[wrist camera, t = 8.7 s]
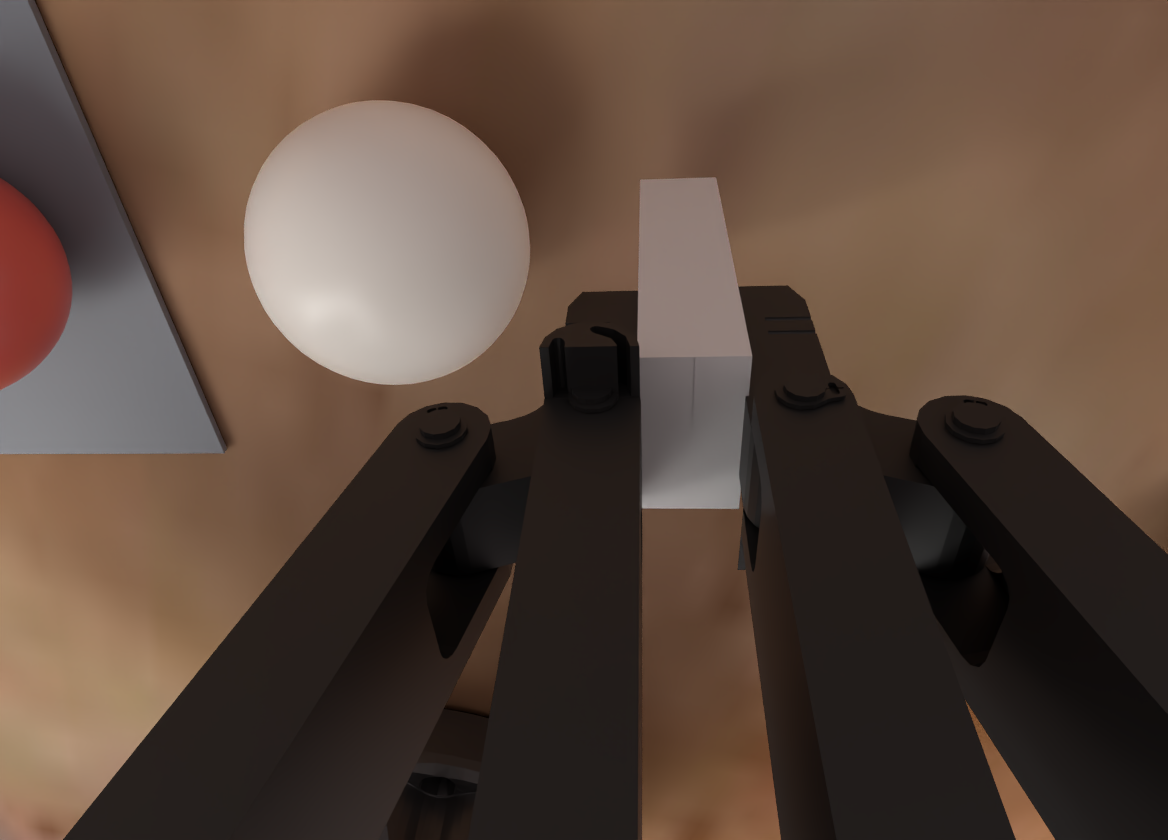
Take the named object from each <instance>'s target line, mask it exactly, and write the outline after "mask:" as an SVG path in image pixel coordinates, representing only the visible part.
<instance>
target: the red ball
mask: <svg viewBox="0 0 1168 840" xmlns="http://www.w3.org/2000/svg"><path fill="white" fill-rule="evenodd" d="M71 303H72V279H71V272H70V267H69V264H68V260H67V257H66V253H65V251H64V249H63V246H62V244H61V241H60V240H59V238H58V236H57V234H56V233H55V231H54V229H53V228H52V226H51V225H50V224H49V222H48V221H47V220H46V218H45V217H44V216H43V214H42V213H41V212H40V211H39V210H38V209H37V207H36V206H35V205H34V204H33V203H32V202H31V201H30V200H29V199H28V198H27V197H25V196H24V195H23V194H22V193H21V192H19V191H18V190H17V189H16V188H14V187H13V186H12V185H10V184H9V183H8V182H6V181H5V180H3V179H1V178H0V390H2V389H4V388H5V387H7V386H9V385H11V384H13V383H15V382H17V381H18V380H20V379H21V378H23V377H24V376H26V375H27V374H29V373H30V372H31V371H32V370H34V369H35V368H36V367H37V366H38V365H39V364H40V363H41V362H42V361H43V360H44V359H45V358H46V357H47V356H48V355H49V353H50V352H51V351H52V349H53V348H54V346H55V345H56V343H57V342H58V341H59V339H60V337H61V335H62V333H63V331H64V329H65V326H66V323H67V321H68V318H69V314H70V309H71Z"/></svg>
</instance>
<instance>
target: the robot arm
mask: <svg viewBox="0 0 1168 840" xmlns="http://www.w3.org/2000/svg"><path fill="white" fill-rule="evenodd" d="M539 349H540V359H541V368H542V377H543V387H544V396H545V399H544V405H543V406H541V407H540V408H539V409H537V410H536V411H534V412H532V413H529V414H527V415H525V416H522V417H519V418H516V419H512V420H508V421H504V422H499V423H495V424H490V422H489V419H488V416H487V415H486V414H485V413H484V412H482V411H481V410H480V409H479V408H477V407H474V406H471V405H467V404H464V403H440V404H435V405H431V406H426V407H424V408H421V409H419V410H417V411H415V412H413V413H411V414H409V415H408V416H407V417H405V418H404V419H403V420H402V421H401V422H400V423H399V424H397V426H396V427H395V428H394V429H393V430H392V432H391V433H390V434H389V435H388V437H387V438H386V439H385V440H384V442H383V443H382V444H381V445H380V447H379V448H378V449H377V450H376V452H375V453H374V454H373V455H372V457H371V458H370V459H369V460H368V462H367V463H366V464H365V465H364V467H363V468H362V469H361V470H360V471H359V473H358V474H357V475H356V476H355V478H354V479H353V480H352V481H351V483H350V484H349V485H348V486H347V488H346V489H345V490H344V491H343V493H342V494H341V495H340V496H339V498H338V499H337V500H336V501H335V503H334V504H333V505H332V506H331V508H330V509H329V510H328V511H327V512H326V514H325V515H324V516H323V517H322V519H321V520H320V521H319V522H318V524H317V525H316V526H315V527H314V529H313V530H312V531H311V532H310V534H309V535H308V536H307V537H306V539H305V540H304V541H303V542H302V544H301V545H300V546H299V547H298V548H297V550H296V551H295V552H294V553H293V555H292V556H291V557H290V558H289V560H288V561H287V562H286V563H285V565H284V566H283V567H282V568H281V570H280V571H279V572H278V573H277V575H276V576H275V577H274V578H273V580H272V581H271V582H270V583H269V585H268V586H267V587H266V588H265V589H264V591H263V592H262V593H261V594H260V596H259V597H258V598H257V599H256V601H255V602H254V603H253V604H252V606H251V607H250V608H249V609H248V611H247V612H246V613H245V614H244V616H243V617H242V618H241V619H240V621H239V622H238V623H237V624H236V625H235V627H234V628H233V629H232V630H231V632H230V633H229V634H228V635H227V637H226V638H225V639H224V640H223V642H222V643H221V644H220V645H219V647H218V648H217V649H216V650H215V652H214V653H213V654H212V655H211V657H210V658H209V659H208V660H207V662H206V663H205V664H204V665H203V666H202V668H201V669H200V670H199V671H198V673H197V674H196V675H195V676H194V678H193V679H192V680H191V681H190V683H189V684H188V685H187V686H186V688H185V689H184V690H183V691H182V693H181V694H180V695H179V696H178V698H177V699H176V700H175V701H174V702H173V704H172V705H171V706H170V707H169V709H168V710H167V711H166V712H165V714H164V715H163V716H162V717H161V719H160V720H159V721H158V722H157V724H156V725H155V726H154V727H153V729H152V730H151V731H150V732H149V734H148V735H147V736H146V737H145V739H144V740H143V741H142V742H141V743H140V745H139V746H138V747H137V748H136V750H135V751H134V752H133V753H132V755H131V756H130V757H129V758H128V760H127V761H126V762H125V763H124V765H123V766H122V767H121V768H120V770H119V771H118V772H117V773H116V775H115V776H114V777H113V778H112V779H111V781H110V782H109V783H108V784H107V786H106V787H105V788H104V789H103V791H102V792H101V793H100V794H99V796H98V797H97V798H96V799H95V801H94V802H93V803H92V804H91V806H90V807H89V808H88V809H87V811H86V812H85V813H84V814H83V816H82V817H81V818H80V819H79V820H78V822H77V823H76V824H75V825H74V827H73V828H72V829H71V830H70V832H69V833H68V834H67V835H66V837H65V838H64V839H63V840H642V508H653V509H739V502H740V491H741V493H742V500H743V518H742V529H741V540H740V551H739V562H738V570H745V569H746V575H747V583H748V590H749V598H750V606H751V613H752V621H753V628H754V636H755V644H756V651H757V659H758V666H759V674H760V682H761V689H762V697H763V705H764V712H765V720H766V727H767V735H768V743H769V750H770V758H771V765H772V773H773V781H774V788H775V796H776V804H777V811H778V819H779V826H780V834H781V840H1016V839H1015V836H1014V834H1013V831H1012V828H1011V825H1010V823H1009V820H1008V817H1007V814H1006V812H1005V809H1004V806H1003V803H1002V801H1001V798H1000V795H999V792H998V790H997V787H996V784H995V781H994V779H993V776H992V773H991V770H990V768H989V765H988V762H987V759H986V757H985V754H984V751H983V748H982V746H981V743H980V740H979V737H978V735H977V732H976V729H975V726H974V724H973V721H972V718H971V715H970V713H969V710H968V707H967V704H966V702H967V703H968V705H969V706H970V708H971V709H972V711H973V712H974V714H975V716H976V717H977V719H978V720H979V722H980V723H981V725H982V726H983V728H984V729H985V731H986V733H987V734H988V736H989V737H990V739H991V740H992V742H993V743H994V745H995V747H996V748H997V750H998V751H999V753H1000V754H1001V756H1002V757H1003V759H1004V760H1005V762H1006V764H1007V765H1008V767H1009V768H1010V770H1011V771H1012V773H1013V774H1014V776H1015V778H1016V779H1017V781H1018V782H1019V784H1020V785H1021V787H1022V788H1023V790H1024V791H1025V793H1026V795H1027V796H1028V798H1029V799H1030V801H1031V802H1032V804H1033V805H1034V807H1035V809H1036V810H1037V812H1038V813H1039V815H1040V816H1041V818H1042V819H1043V821H1044V822H1045V824H1046V826H1047V827H1048V829H1049V830H1050V832H1051V833H1052V835H1053V836H1054V838H1055V840H1168V554H1167V553H1166V552H1164V551H1163V550H1162V549H1161V548H1160V547H1159V546H1158V545H1157V544H1156V543H1155V542H1154V541H1153V540H1152V539H1151V538H1150V537H1149V536H1147V535H1146V534H1145V533H1144V532H1143V531H1142V530H1141V529H1140V528H1139V527H1138V526H1137V525H1136V524H1135V523H1134V522H1133V521H1131V520H1130V519H1129V518H1128V517H1127V516H1126V515H1125V514H1124V513H1123V512H1122V511H1121V510H1120V509H1119V508H1118V507H1117V506H1116V505H1114V504H1113V503H1112V502H1111V501H1110V500H1109V499H1108V498H1107V497H1106V496H1105V495H1104V494H1103V493H1102V492H1101V491H1100V490H1098V489H1097V488H1096V487H1095V486H1094V485H1093V484H1092V483H1091V482H1090V481H1089V480H1088V479H1087V478H1086V477H1085V476H1084V475H1083V474H1081V473H1080V472H1079V471H1078V470H1077V469H1076V468H1075V467H1074V466H1073V465H1072V464H1071V463H1070V462H1069V461H1068V460H1067V459H1066V458H1064V457H1063V456H1062V455H1061V454H1060V453H1059V452H1058V451H1057V450H1056V449H1055V448H1054V447H1053V446H1052V445H1051V444H1050V443H1048V442H1047V441H1046V440H1045V439H1044V438H1043V437H1042V436H1041V435H1040V434H1039V433H1038V432H1037V431H1036V430H1035V429H1034V428H1033V427H1031V426H1030V425H1029V424H1028V423H1027V422H1026V421H1025V420H1024V419H1023V418H1022V417H1020V416H1019V415H1017V414H1016V413H1014V412H1013V411H1012V410H1010V409H1009V408H1007V407H1005V406H1003V405H1000V404H997V403H995V402H992V401H990V400H987V399H983V398H978V397H977V398H976V397H972V396H944V397H941V398H938V399H934V400H931V401H929V402H928V403H926V404H925V405H924V406H923V407H922V408H921V409H920V410H919V413H918V417H917V421H915V420H910V419H905V418H900V417H894V416H889V415H884V414H881V413H877V412H873V411H870V410H867V409H865V408H862V407H860V406H858V405H857V402H856V399H855V396H854V394H853V393H852V391H851V390H850V389H849V387H848V386H847V385H846V384H845V383H844V382H842V381H840V380H839V379H837V378H836V377H834V376H833V375H830V372H829V369H828V366H827V363H826V360H825V357H824V354H823V351H822V348H821V345H820V342H819V339H818V337H817V334H815V328H814V325H813V322H812V320H811V316H810V313H809V310H808V307H807V304H806V301H805V299H803V298H802V297H801V296H800V295H798V294H797V293H796V292H795V291H794V290H792V289H791V288H790V287H789V286H746V287H738V283H737V278H736V273H735V268H734V263H733V258H732V253H731V248H730V243H729V238H728V234H727V229H726V224H725V219H724V214H723V209H722V204H721V199H720V194H719V189H718V184H717V179H716V177H707V178H677V179H646V180H640V213H639V271H638V291H607V292H582V293H581V294H580V295H579V296H578V297H577V298H576V299H575V300H574V301H573V302H572V303H571V304H570V305H569V307H568V312H567V318H566V326H565V327H562V328H559V329H556V330H555V331H554V332H552V333H551V334H549V335H548V336H546V337H545V338H544V340H543V342H542V344H541V345H540V347H539ZM513 563H516V566H515V572H514V578H513V583H512V589H511V595H510V601H509V606H508V612H507V618H506V624H505V629H504V635H503V641H502V647H501V652H500V658H499V664H498V670H497V675H496V681H495V687H494V693H493V698H492V704H491V710H490V716H489V718H485V717H481V716H477V715H473V714H468V713H464V712H459V711H453V710H447V709H444V707H445V705H446V703H447V701H448V699H449V697H450V695H451V693H452V691H453V689H454V687H455V685H456V683H457V681H458V679H459V677H460V675H461V673H462V671H463V669H464V667H465V665H466V663H467V661H468V659H469V657H470V655H471V653H472V651H473V649H474V647H475V645H476V643H477V641H478V639H479V637H480V635H481V633H482V631H483V629H484V627H485V625H486V623H487V621H488V619H489V617H490V615H491V613H492V611H493V609H494V607H495V605H496V603H497V601H498V599H499V597H500V595H501V593H502V591H503V589H504V587H505V585H506V583H507V581H508V579H509V577H510V574H511V569H512V565H513ZM964 698H965V699H964ZM965 700H966V702H965Z"/></svg>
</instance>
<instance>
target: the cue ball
mask: <svg viewBox="0 0 1168 840" xmlns="http://www.w3.org/2000/svg"><path fill="white" fill-rule="evenodd" d="M244 249H245V256H246V262H247V268H248V271H249V275H250V278H251V281H252V284H253V287H254V289H255V292H256V294H257V296H258V298H259V300H260V302H261V304H262V306H263V308H264V310H265V311H266V313H267V314H268V316H269V317H270V319H271V320H272V322H273V323H274V325H275V326H276V327H277V328H278V329H279V330H280V331H281V333H282V334H283V335H284V336H285V337H286V338H287V339H288V340H289V341H290V342H291V343H292V344H293V345H294V346H295V347H296V348H297V349H299V350H300V351H301V352H302V353H303V354H305V355H306V356H308V357H309V358H310V359H312V360H313V361H315V362H316V363H318V364H320V365H322V366H324V367H326V368H328V369H330V370H331V371H334V372H336V373H339V374H341V375H344V376H346V377H349V378H352V379H356V380H360V381H363V382H368V383H375V384H382V385H404V384H415V383H420V382H425V381H430V380H433V379H436V378H440V377H443V376H445V375H448V374H450V373H452V372H454V371H457V370H459V369H460V368H462V367H464V366H466V365H467V364H469V363H471V362H472V361H473V360H475V359H476V358H477V357H479V356H480V355H481V354H483V353H484V352H485V351H486V350H487V349H488V348H489V347H490V346H491V345H492V344H493V343H494V342H495V341H496V340H497V338H498V337H499V336H500V335H501V334H502V332H503V331H504V330H505V329H506V327H507V326H508V324H509V322H510V321H511V319H512V318H513V316H514V314H515V312H516V310H517V308H518V306H519V304H520V301H521V298H522V295H523V292H524V289H525V286H526V282H527V277H528V271H529V266H530V239H529V228H528V222H527V218H526V214H525V209H524V206H523V204H522V201H521V198H520V196H519V193H518V191H517V189H516V187H515V185H514V183H513V181H512V179H511V177H510V175H509V174H508V172H507V170H506V169H505V167H504V166H503V165H502V163H501V162H500V160H499V159H498V158H497V156H496V155H495V154H494V153H493V152H492V151H491V150H490V149H489V148H488V147H487V146H486V145H485V144H484V143H483V142H482V141H481V140H480V139H479V138H478V137H477V136H476V135H474V134H473V133H472V132H471V131H469V130H468V129H467V128H466V127H464V126H463V125H461V124H459V123H458V122H456V121H454V120H453V119H451V118H449V117H447V116H445V115H443V114H441V113H438V112H436V111H434V110H432V109H428V108H425V107H422V106H418V105H415V104H411V103H404V102H398V101H391V100H369V101H360V102H353V103H349V104H345V105H341V106H337V107H334V108H332V109H329V110H327V111H324V112H322V113H320V114H317V115H316V116H314V117H312V118H311V119H309V120H307V121H305V122H304V123H302V124H300V125H299V126H298V127H297V128H295V129H294V130H293V131H292V132H290V133H289V134H288V135H287V136H285V137H284V138H283V140H282V141H281V142H280V143H279V144H278V145H277V146H276V147H275V148H274V149H273V151H272V152H271V153H270V155H269V156H268V158H267V159H266V161H265V162H264V164H263V165H262V167H261V169H260V171H259V173H258V176H257V178H256V180H255V182H254V184H253V187H252V189H251V193H250V196H249V199H248V203H247V206H246V213H245V221H244Z"/></svg>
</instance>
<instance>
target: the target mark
mask: <svg viewBox="0 0 1168 840" xmlns="http://www.w3.org/2000/svg"><path fill="white" fill-rule="evenodd" d="M0 178H1V179H3V180H5V181H6V182H8V183H9V184H10V185H12V186H13V187H14V188H16V189H17V190H18V191H19V192H21V193H22V194H23V195H24V196H25V197H27V198H28V199H29V200H30V201H31V202H32V203H33V204H34V205H35V206H36V207H37V209H38V210H39V211H40V212H41V213H42V214H43V216H44V217H45V218H46V220H47V221H48V222H49V224H50V225H51V226H52V228H53V229H54V231H55V233H56V234H57V236H58V238H59V240H60V241H61V244H62V246H63V249H64V251H65V253H66V257H67V260H68V264H69V267H70V272H71V279H72V303H71V309H70V314H69V318H68V321H67V323H66V326H65V329H64V331H63V333H62V335H61V337H60V339H59V341H58V342H57V343H56V345H55V346H54V348H53V349H52V351H51V352H50V353H49V355H48V356H47V357H46V358H45V359H44V360H43V361H42V362H41V363H40V364H39V365H38V366H37V367H36V368H35V369H34V370H32V371H31V372H30V373H29V374H27V375H26V376H24V377H23V378H21V379H20V380H18V381H17V382H15V383H13V384H11V385H9V386H7V387H5V388H4V389H2V390H0V454H174V453H225V451H226V450H227V447H226V445H225V443H224V440H223V438H222V436H221V433H220V431H219V429H218V427H217V424H216V422H215V420H214V417H213V415H212V413H211V410H210V408H209V406H208V403H207V401H206V399H205V396H204V394H203V392H202V389H201V387H200V385H199V382H198V380H197V378H196V375H195V373H194V371H193V368H192V366H191V364H190V361H189V359H188V357H187V354H186V352H185V350H184V347H183V345H182V343H181V340H180V338H179V336H178V333H177V331H176V329H175V326H174V324H173V322H172V319H171V317H170V315H169V312H168V310H167V308H166V305H165V303H164V301H163V298H162V296H161V294H160V291H159V289H158V287H157V284H156V282H155V280H154V277H153V275H152V273H151V270H150V268H149V266H148V263H147V261H146V259H145V256H144V254H143V252H142V250H141V247H140V245H139V243H138V240H137V238H136V236H135V233H134V231H133V229H132V226H131V224H130V222H129V219H128V217H127V215H126V212H125V210H124V208H123V205H122V203H121V201H120V198H119V196H118V194H117V191H116V189H115V187H114V184H113V182H112V180H111V177H110V175H109V173H108V170H107V168H106V166H105V163H104V161H103V159H102V156H101V154H100V152H99V149H98V147H97V145H96V142H95V140H94V138H93V135H92V133H91V131H90V128H89V126H88V124H87V121H86V119H85V117H84V114H83V112H82V110H81V107H80V105H79V103H78V100H77V98H76V96H75V93H74V91H73V89H72V86H71V84H70V82H69V80H68V77H67V75H66V73H65V70H64V68H63V66H62V63H61V61H60V59H59V56H58V54H57V52H56V49H55V47H54V45H53V42H52V40H51V38H50V35H49V33H48V31H47V28H46V26H45V24H44V21H43V19H42V17H41V14H40V12H39V10H38V7H37V5H36V3H35V0H0Z"/></svg>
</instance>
